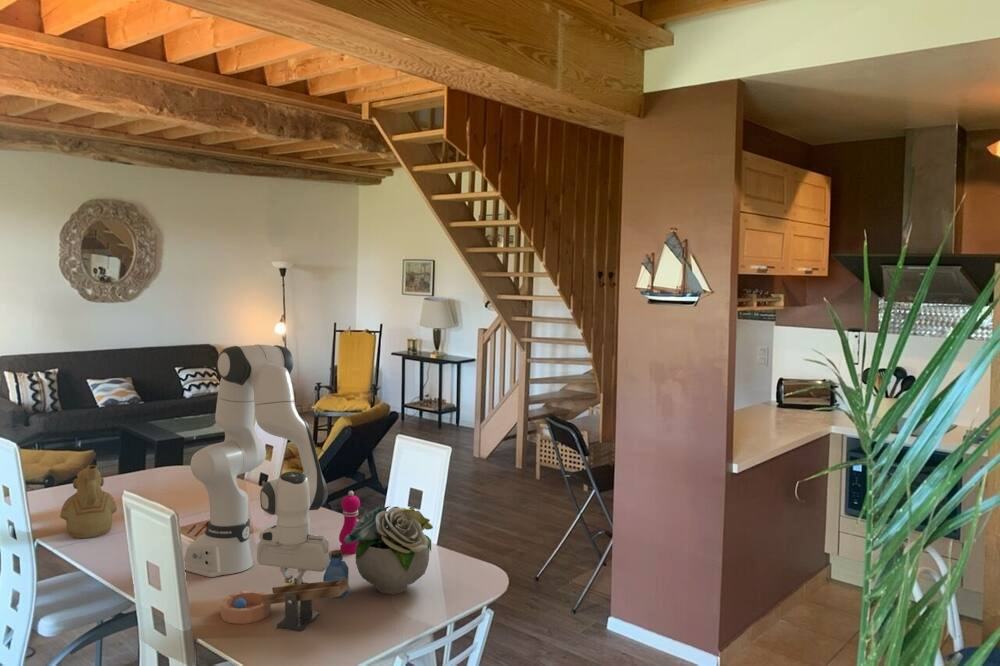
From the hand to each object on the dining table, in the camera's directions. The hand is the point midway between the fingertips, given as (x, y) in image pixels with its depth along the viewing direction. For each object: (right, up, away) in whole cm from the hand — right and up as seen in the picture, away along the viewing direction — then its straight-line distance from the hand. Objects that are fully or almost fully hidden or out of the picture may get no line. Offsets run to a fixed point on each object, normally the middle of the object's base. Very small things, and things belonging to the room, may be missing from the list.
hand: (293, 583), depth 202 cm
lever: (+7, 0, -6) cm, 9 cm away
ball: (-13, -4, -5) cm, 14 cm away
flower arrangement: (+25, -6, +14) cm, 29 cm away
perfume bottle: (+10, -6, +9) cm, 15 cm away
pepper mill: (+7, -4, +43) cm, 44 cm away
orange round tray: (-11, -6, -5) cm, 14 cm away
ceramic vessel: (-85, -1, +53) cm, 100 cm away
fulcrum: (+4, -7, -9) cm, 12 cm away
